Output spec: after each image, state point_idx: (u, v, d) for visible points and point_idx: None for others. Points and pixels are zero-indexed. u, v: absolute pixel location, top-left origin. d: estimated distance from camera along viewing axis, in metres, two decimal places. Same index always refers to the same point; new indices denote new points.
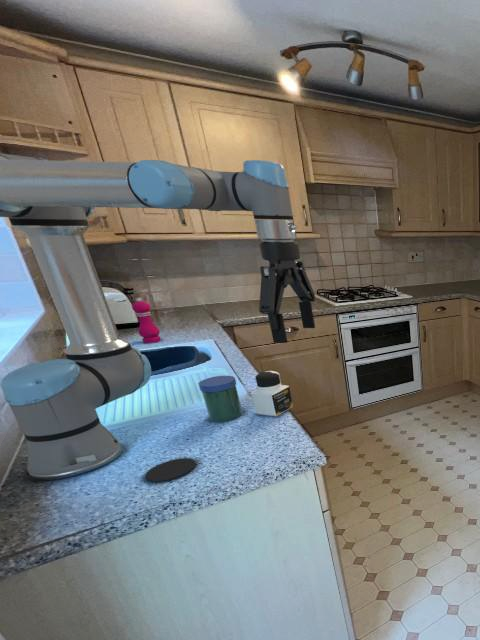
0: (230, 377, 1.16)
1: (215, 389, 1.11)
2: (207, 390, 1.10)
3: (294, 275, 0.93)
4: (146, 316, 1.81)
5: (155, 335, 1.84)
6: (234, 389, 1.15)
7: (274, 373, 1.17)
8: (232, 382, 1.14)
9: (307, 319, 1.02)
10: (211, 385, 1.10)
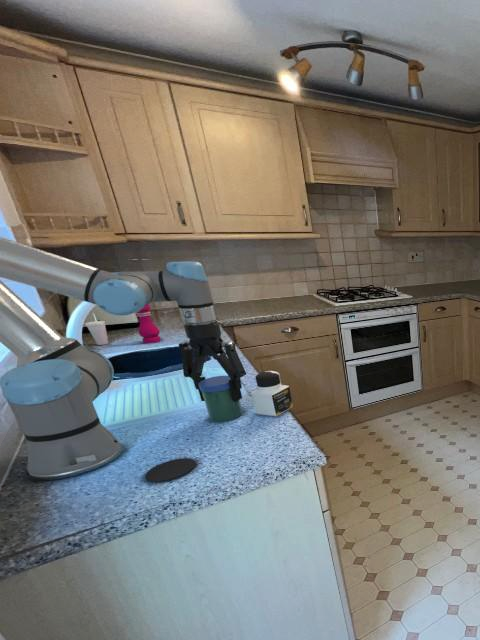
0: None
1: (215, 389, 1.11)
2: (207, 390, 1.10)
3: None
4: (146, 316, 1.81)
5: (155, 335, 1.84)
6: None
7: (274, 373, 1.17)
8: None
9: None
10: (211, 385, 1.10)
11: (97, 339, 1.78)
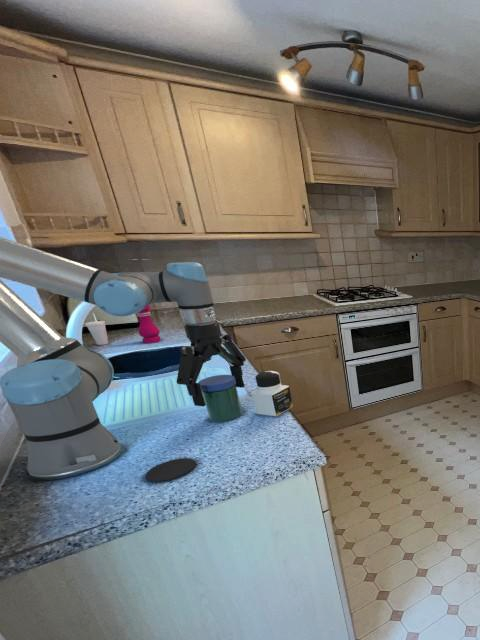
0: (212, 377, 1.15)
1: (235, 381, 1.16)
2: (232, 384, 1.14)
3: (217, 348, 1.11)
4: (146, 316, 1.81)
5: (155, 335, 1.84)
6: (234, 389, 1.15)
7: (274, 373, 1.17)
8: None
9: (237, 380, 1.20)
10: (231, 379, 1.14)
11: (97, 339, 1.78)
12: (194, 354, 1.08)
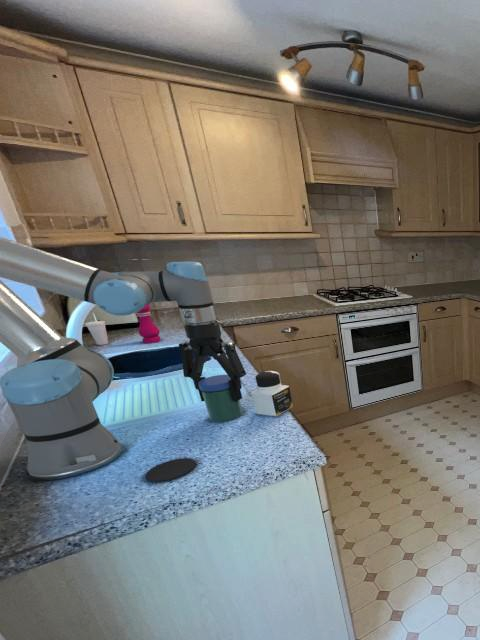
0: (212, 377, 1.15)
1: None
2: None
3: None
4: (146, 316, 1.81)
5: (155, 335, 1.84)
6: None
7: (274, 373, 1.17)
8: None
9: None
10: None
11: (97, 339, 1.78)
12: None
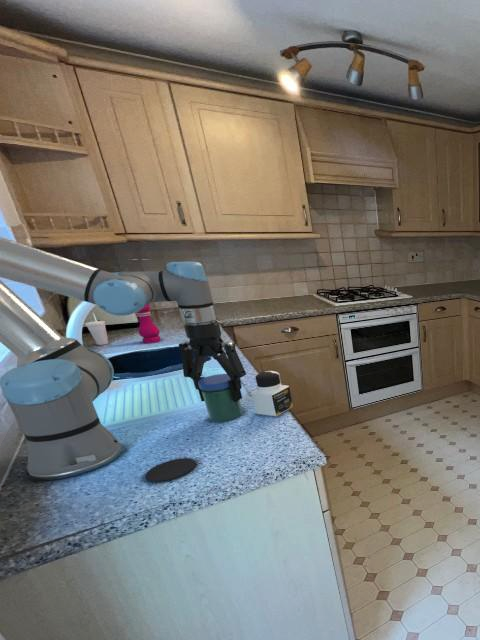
0: (202, 382, 1.11)
1: None
2: None
3: None
4: (146, 316, 1.81)
5: (155, 335, 1.84)
6: None
7: (274, 373, 1.17)
8: None
9: None
10: (221, 374, 1.17)
11: (97, 339, 1.78)
12: None
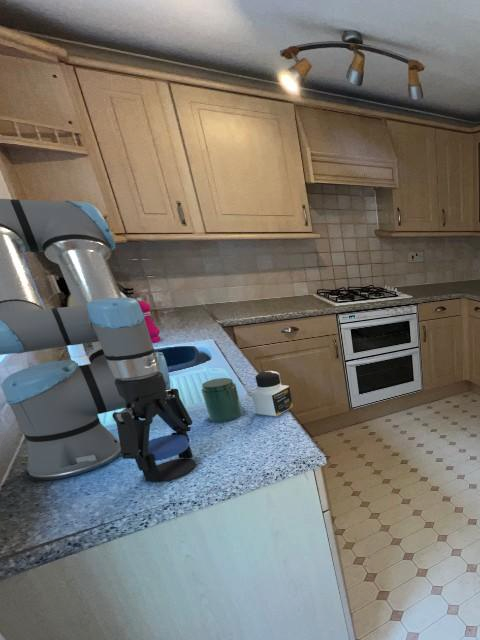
0: (167, 448, 0.87)
1: None
2: None
3: None
4: (146, 316, 1.81)
5: (155, 335, 1.84)
6: (234, 389, 1.15)
7: (274, 373, 1.17)
8: None
9: None
10: None
11: None
12: (133, 417, 0.83)
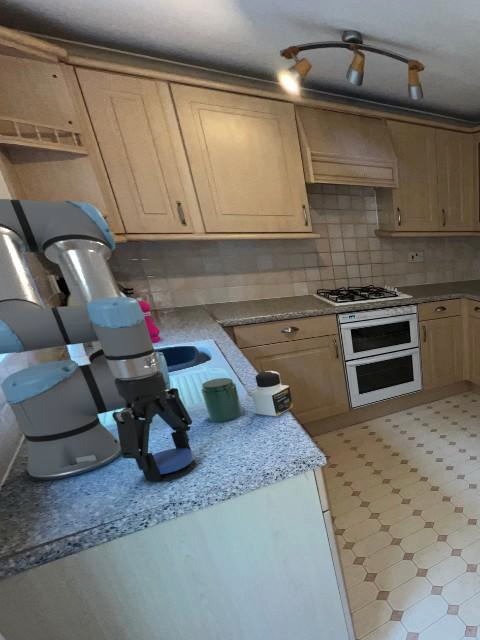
0: (172, 462, 0.88)
1: None
2: None
3: None
4: (146, 316, 1.81)
5: (155, 335, 1.84)
6: (234, 389, 1.15)
7: (274, 373, 1.17)
8: None
9: None
10: None
11: None
12: (133, 416, 0.84)
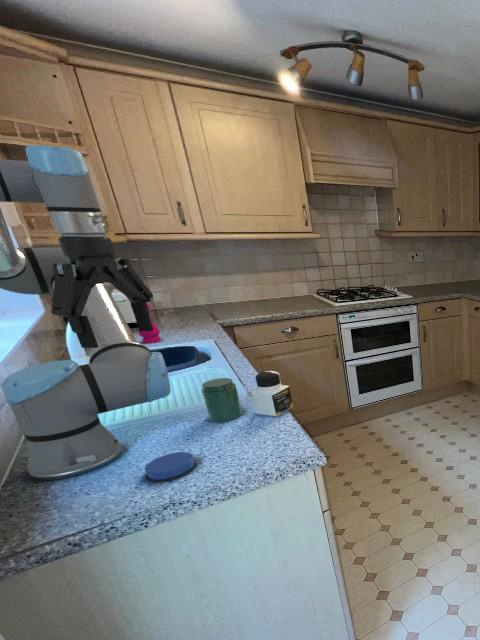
0: (174, 467, 0.89)
1: None
2: None
3: (111, 273, 0.85)
4: None
5: (155, 335, 1.84)
6: (234, 389, 1.15)
7: (274, 373, 1.17)
8: (155, 474, 0.87)
9: (142, 321, 0.93)
10: (151, 463, 0.90)
11: None
12: (76, 278, 0.80)
